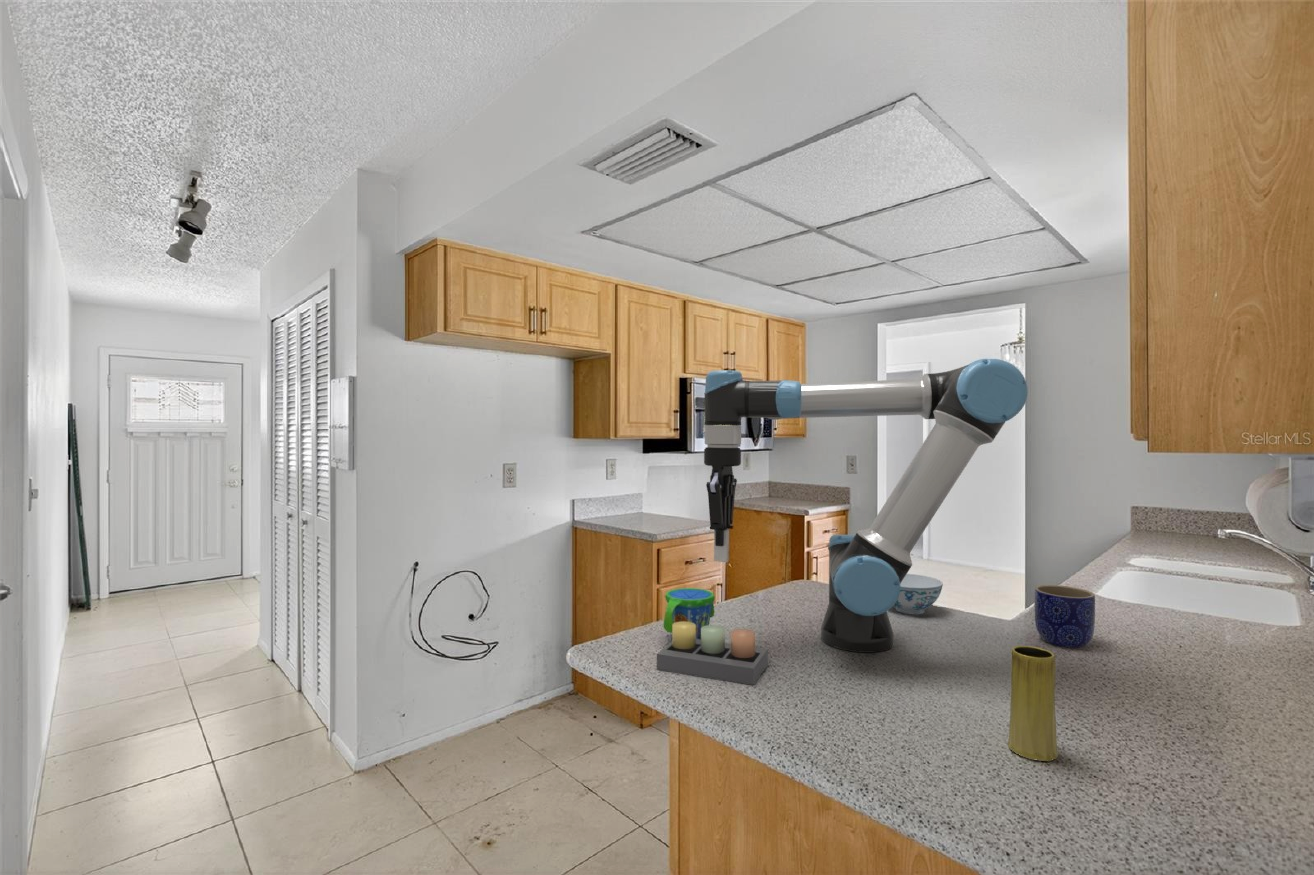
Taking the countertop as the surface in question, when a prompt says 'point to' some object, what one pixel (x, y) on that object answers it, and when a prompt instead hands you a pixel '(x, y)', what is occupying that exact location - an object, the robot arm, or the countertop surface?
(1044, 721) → the vase
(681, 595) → the snack cup
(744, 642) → the button terracotta
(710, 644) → the button sage
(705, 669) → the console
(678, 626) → the button mustard
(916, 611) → the chinaware
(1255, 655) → the countertop surface
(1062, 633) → the planter
